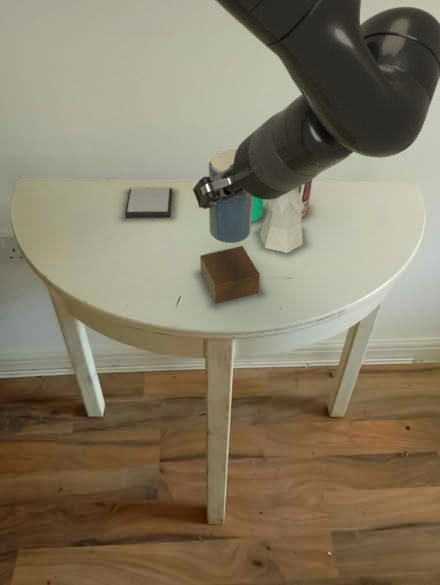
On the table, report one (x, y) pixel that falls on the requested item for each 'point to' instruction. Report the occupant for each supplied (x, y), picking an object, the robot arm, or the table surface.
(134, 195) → the scale
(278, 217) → the figurine
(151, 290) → the table surface
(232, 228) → the canister
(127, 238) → the table surface
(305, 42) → the robot arm
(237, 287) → the block
